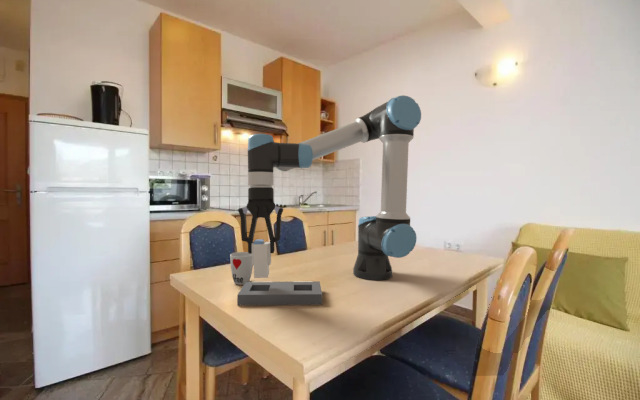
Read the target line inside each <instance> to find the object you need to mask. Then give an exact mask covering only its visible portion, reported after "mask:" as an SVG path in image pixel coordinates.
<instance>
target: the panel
mask: <svg viewBox="0 0 640 400" xmlns="http://www.w3.org/2000/svg"><path fill="white" fill-rule="evenodd" d="M236 297H237V306H309V305H310V306H311V305H313V306H315V305H318V306H319V305H321V306H323V292H322V286H321V282H320V281H308V280H307V281H306V280H305V281H304V280H303V281H302V280H301V281H298V280H297V281H295V280H294V281H273V280H272V281H249V282H245V284H243V286H242V287H241V288H240V290H239V291H238V292H237V296H236Z"/></svg>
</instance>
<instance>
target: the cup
mask: <svg viewBox="0 0 640 400" xmlns="http://www.w3.org/2000/svg"><path fill="white" fill-rule="evenodd" d="M229 258H230V271H231V277H232V280H233V284H235V285H239V286H240V285H244V284H245V282H251V281H250V280H251V278H252V273H253V269H254V265H252V254H249V253H248V251H239V252H238V251H237V252H232V253H230V255H229Z"/></svg>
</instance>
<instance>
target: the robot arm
mask: <svg viewBox="0 0 640 400" xmlns="http://www.w3.org/2000/svg"><path fill="white" fill-rule="evenodd" d="M419 105H420V104H419V103H417V102H416V101H415V99H414V98H412V97H410V96H408V95H405V94H404V95H398V96H395V97H392V98H390V99H389V100H388V101H386V102H384V103H383V104H381V105H379V106H377V107H375V108H374V109H372V110H370V111H369V112H368V113H365V114H364V115H363V116H360V117H357V118H355V120H354V121H353V122H351V123H349V124H346V125H344V126H341V127H339V128H336V129H333V130H330V131H327V132H325V133H322V134H319V135H317V136H314V137H311V138H310V139H307V140H303V141H301V142H298V143H293V142H292V143H290V142H276V141H275V140H274V137H273V135H271V134H266V133H253V134H251V135H249V137H248V139H247V185H248V186H249V188H247V190H248V191H247V198H248V201H247V203H246V206H244V207H240V208H238V209H237V211H238V212H237V213H239V216H240V231H241V232H240V233H241V235H240V236H241V241H242V242H246V243H247V252H248V253H249V254H252V265H253V266H254V237H255V232H256V228H257V222H258V219H259V218H263V219H264V220H265V224H266V229H267V234H268V235H267V236H268V240H269V241H267V242H268V265H269V266H271V264H272V254H275V253H274V252H275V251H276V250H275V249H276V248H275V247H276V246H275V245H276V243H275V242H278V241H280V240H281V234H282V231H281V230H282V214H283V212H284V207H280V206H277V205H276V204H275V199H274V197H275V195H274V193H275V191H274V190H275V189H274V187H273V186H274V185H275V184H274V181H275V179H274V175H275V174H274V168H276V169H278V170H279V171H282V172H287V171H290V170H293V169H309V168H310V167H312V165H313V161H314V160H317V159H320V158H322V157H324V156H327V155H330V154H332V153H334V152H337V151H340V150H342V149H345V148H347V147H350V146H353V145H355V144H358V143H360V142H361V143H362V144H366V143H368V142H370V141H374V140H377V139H378V140H379V141H381V142H382V162H381V170H382V171H381V188H380V191H381V192H380V211H379V213H378V214H377V215H376V216H372V215H371V216H360V218H359V219H358V225H357V228H358V229H357V231H358V232H357V233H358V234H357V237H358V238H357V239H358V240H357V242H358V245H357V256H356V260H355V263H354V265H353V268H352V270H353V273H352V274H353V275H354V276H355V277H357V278H360V279H364V280H372V281H383V280H388V279H391V278H392V277H393V267H392V265H391V262H390V258H389V257H392V258H395V259H396V258H397V259H400V258H404V257H407V256H408V255H409V254H410V253H411V252H413V250H414V249H415V246H416V243H417V233H416V231H415V230H414V228H413V227H412V226H411V217H410V216H409V214H408V213H407V199H408V197H407V196H408V195H407V193H408V170H409V169H408V168H409V146H410V145H409V143H410V142H411V141H412V140H413V139H414V136H415V135H414V131H415V128H416V127H418V125H419V124H420V123H421V120H422V110H421V107H420V106H419ZM274 210H275V214H276V224H275V225H276V227H275V228H276V229H275V234H274V229H273V226H272V225H273V224H272V220H271V215H272V213H273V211H274ZM248 212H249V213H250V214H251V215H252V216H251V222H250V223H251V224H250V228H249V232H248V226H247V213H248ZM274 235H275V236H274Z"/></svg>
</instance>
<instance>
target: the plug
mask: <svg viewBox="0 0 640 400" xmlns="http://www.w3.org/2000/svg"><path fill="white" fill-rule="evenodd" d="M253 242H254V265H253V278H254V279H262V278H263V279H266V278H269V275H270V265H268V242H269V241H265V240H264V239H259V238H258V239H255V240H253Z"/></svg>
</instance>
